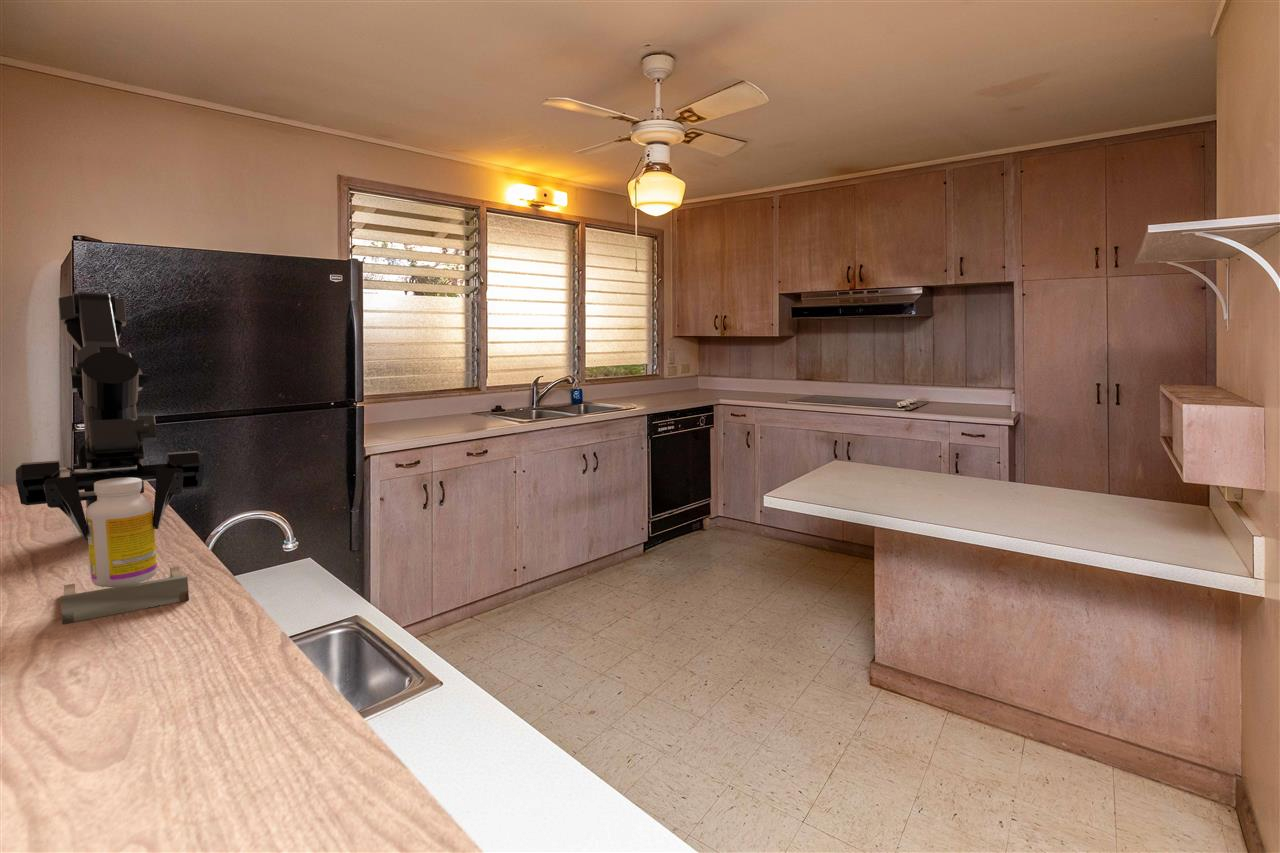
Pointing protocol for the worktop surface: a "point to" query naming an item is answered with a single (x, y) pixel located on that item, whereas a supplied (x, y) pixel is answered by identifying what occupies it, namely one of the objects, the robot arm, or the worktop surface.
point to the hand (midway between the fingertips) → (121, 531)
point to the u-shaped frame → (123, 597)
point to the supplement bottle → (121, 534)
